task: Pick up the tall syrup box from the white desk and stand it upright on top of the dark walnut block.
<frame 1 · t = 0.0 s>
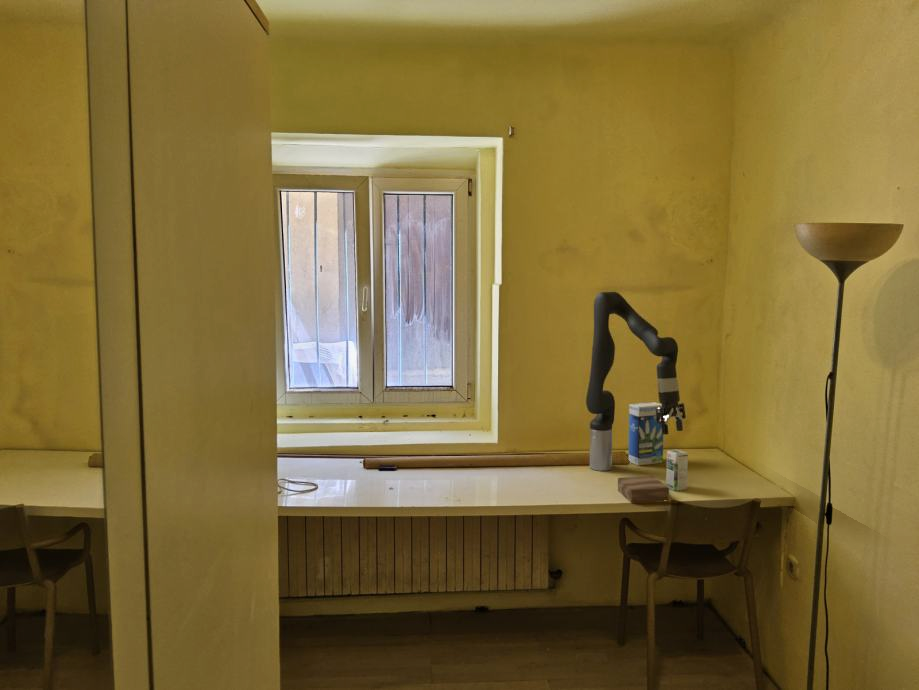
hand: (672, 432, 245), 22 cm above the table, tool pointing down, fingers open, 8 cm apart
walnut block: (642, 495, 242), on the table
string lights box: (645, 462, 284), on the table
syrup box: (676, 488, 249), on the table
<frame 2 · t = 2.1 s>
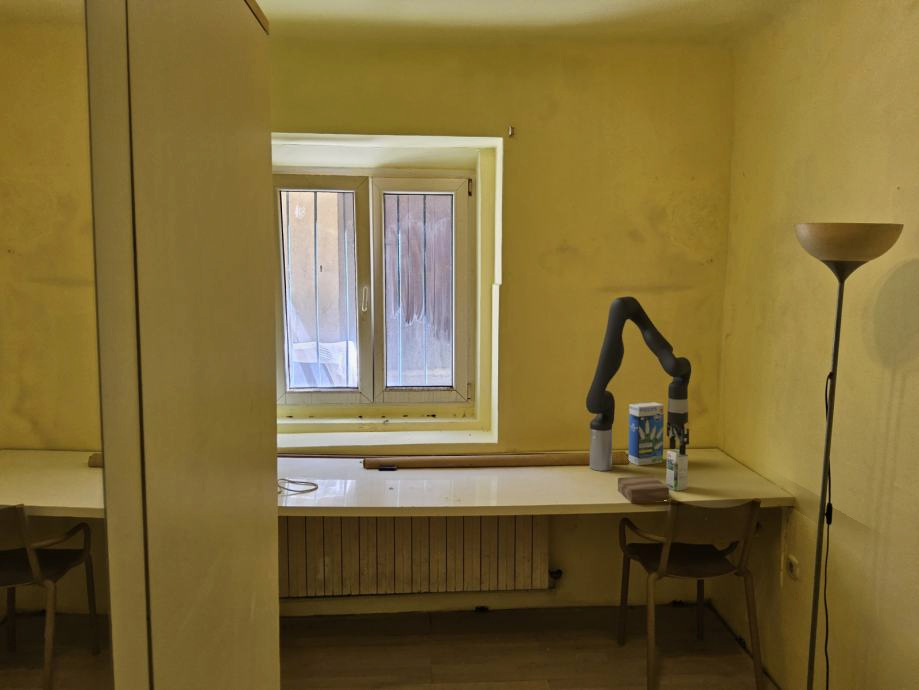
hand: (677, 451, 248), 14 cm above the table, tool pointing down, fingers open, 8 cm apart
nothing on the table moved.
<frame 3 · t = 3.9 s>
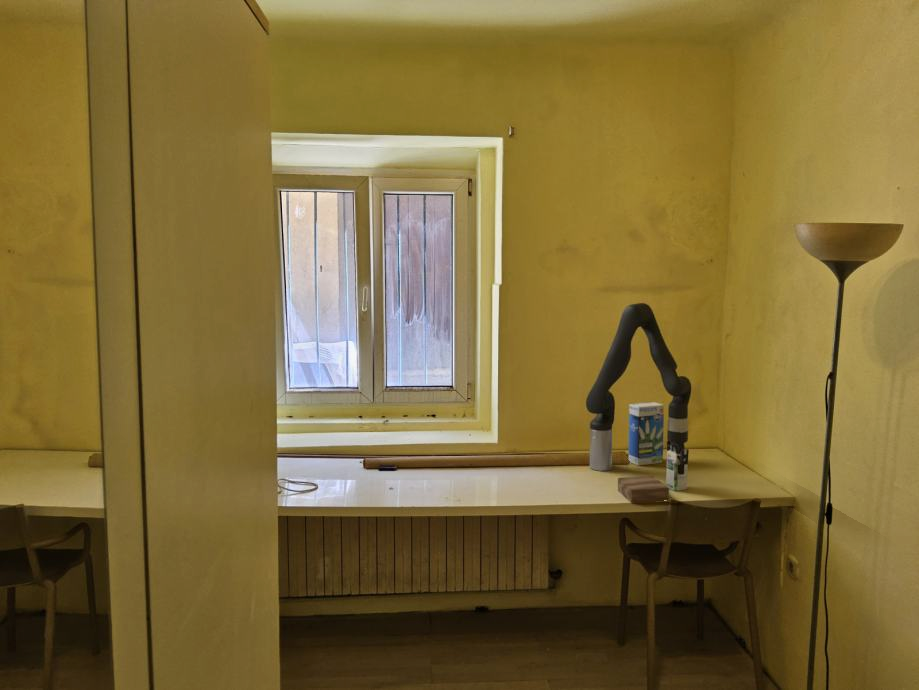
hand: (676, 471, 248), 7 cm above the table, tool pointing down, fingers closed on syrup box, 6 cm apart
syrup box: (676, 488, 249), on the table, touching gripper
everything else where it was.
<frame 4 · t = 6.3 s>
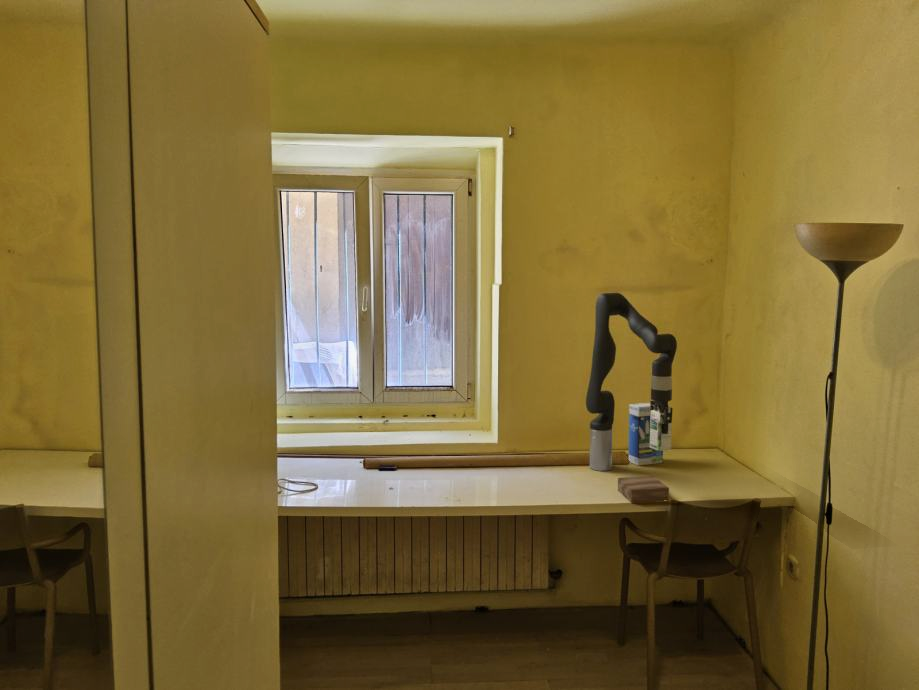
hand: (660, 431, 243), 24 cm above the table, tool pointing down, fingers closed on syrup box, 6 cm apart
syrup box: (660, 449, 244), point 17 cm above the table, touching gripper
everything else where it was.
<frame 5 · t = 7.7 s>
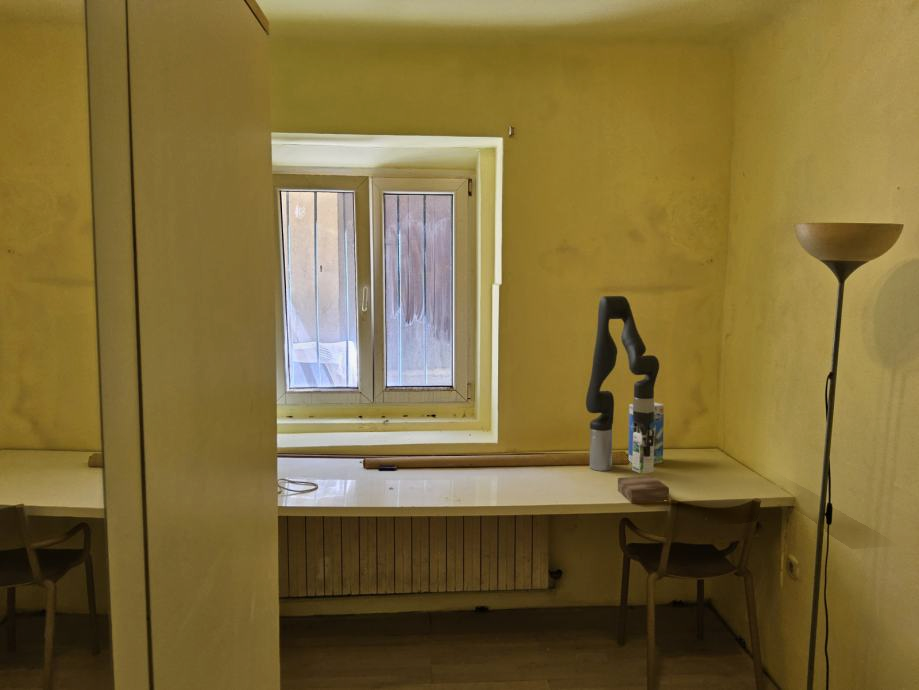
hand: (643, 453, 240), 16 cm above the table, tool pointing down, fingers closed on syrup box, 6 cm apart
syrup box: (642, 471, 241), point 9 cm above the table, touching gripper
everything else where it was.
when the fingers open (13 cm above the table, at t = 8.8 s): syrup box drops 1 cm, resting on walnut block.
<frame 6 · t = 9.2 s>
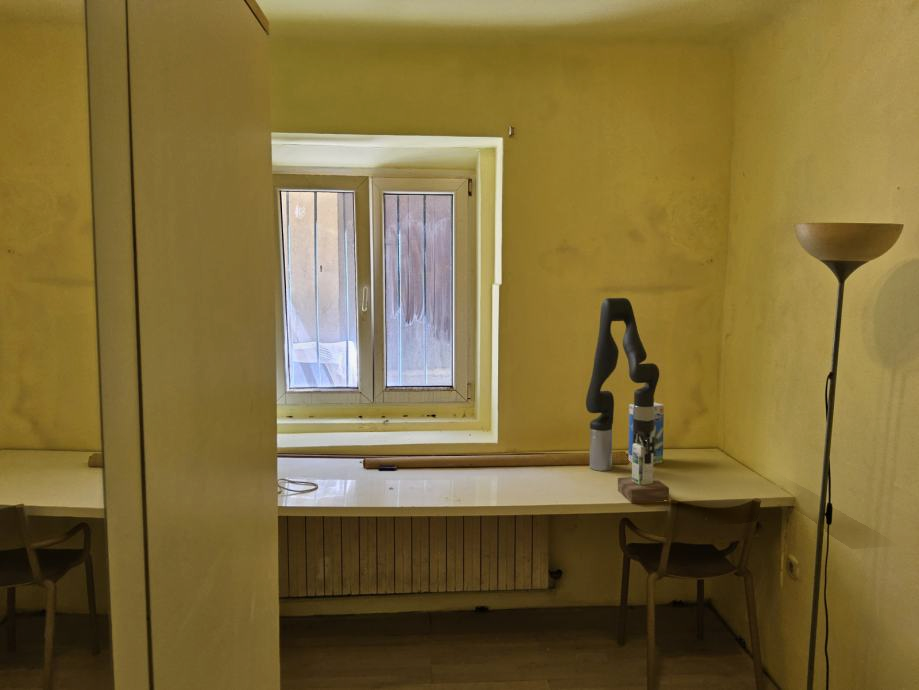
hand: (643, 460, 240), 14 cm above the table, tool pointing down, fingers open, 8 cm apart
syrup box: (642, 482, 241), point 5 cm above the table, touching walnut block
everything else where it was.
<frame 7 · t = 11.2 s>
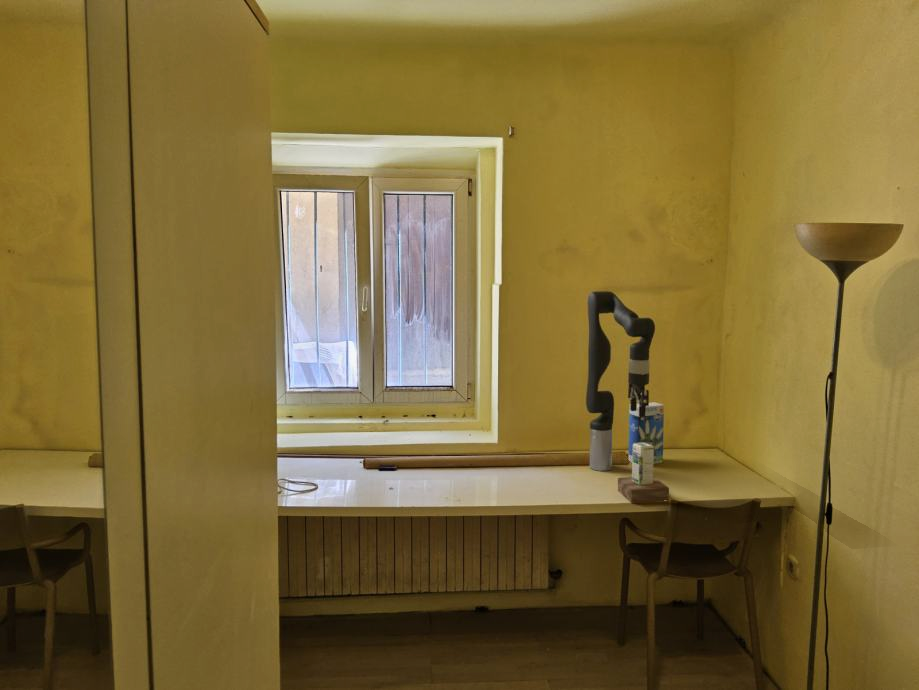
hand: (637, 413, 244), 30 cm above the table, tool pointing down, fingers open, 8 cm apart
nothing on the table moved.
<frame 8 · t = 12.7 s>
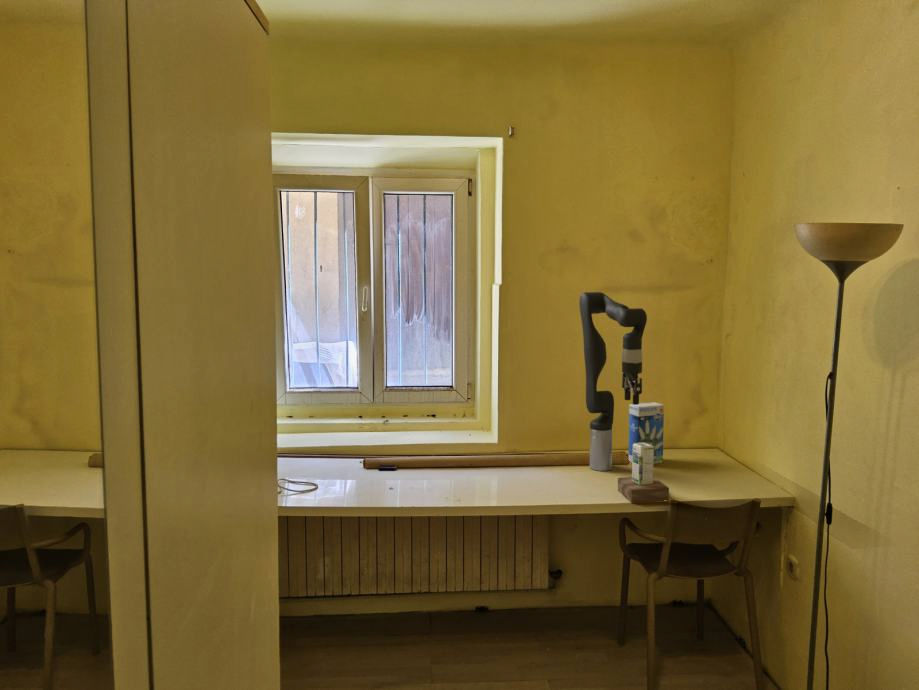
hand: (631, 402, 250), 33 cm above the table, tool pointing down, fingers open, 8 cm apart
nothing on the table moved.
at the end: syrup box inside the target area on the walnut block (0.3 cm from its centre), point 4.8 cm above the walnut block's base; syrup box tilted 0°; the gripper is holding nothing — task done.
